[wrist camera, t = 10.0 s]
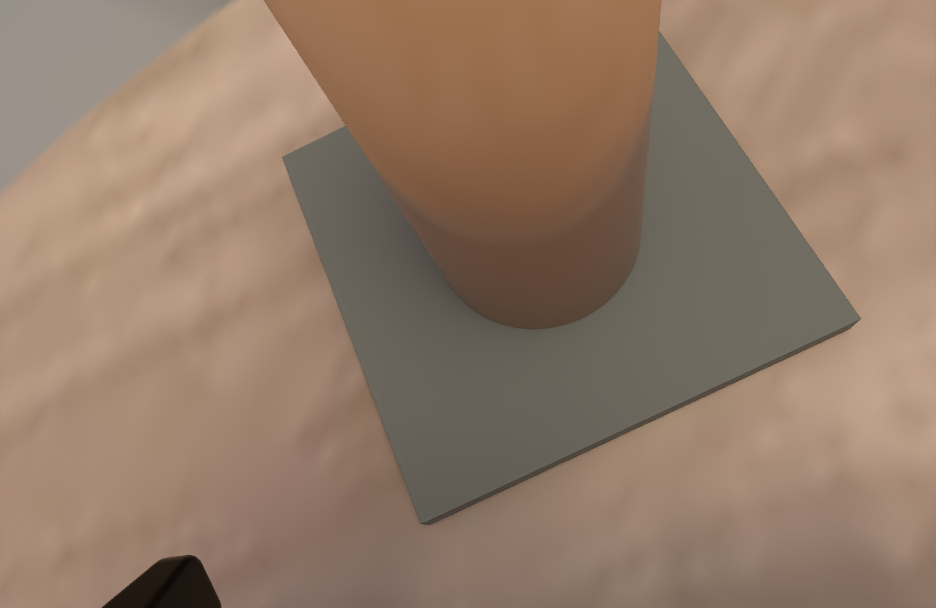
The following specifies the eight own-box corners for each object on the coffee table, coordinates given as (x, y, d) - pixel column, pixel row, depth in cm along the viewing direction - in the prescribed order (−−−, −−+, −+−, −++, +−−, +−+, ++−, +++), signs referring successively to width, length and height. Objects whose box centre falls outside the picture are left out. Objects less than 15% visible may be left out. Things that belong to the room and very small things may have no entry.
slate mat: (849, 329, 16) (861, 318, 16) (429, 524, 17) (421, 524, 16) (628, 8, 20) (629, -12, 20) (293, 170, 21) (282, 156, 20)
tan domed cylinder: (653, 319, 16) (759, -291, 4) (440, 337, 17) (35, -121, 5) (629, 129, 18) (658, -690, 6) (435, 155, 19) (123, -509, 7)
